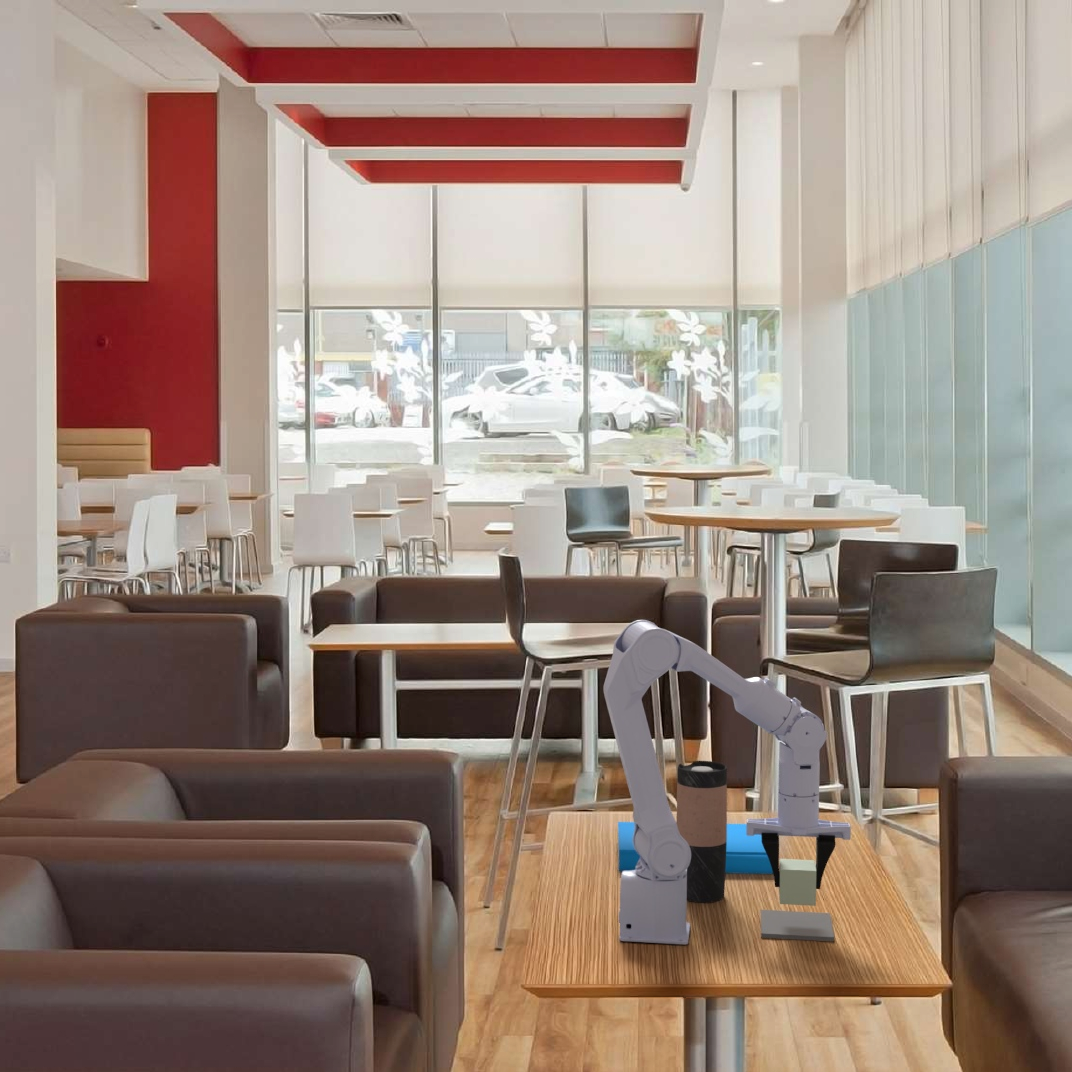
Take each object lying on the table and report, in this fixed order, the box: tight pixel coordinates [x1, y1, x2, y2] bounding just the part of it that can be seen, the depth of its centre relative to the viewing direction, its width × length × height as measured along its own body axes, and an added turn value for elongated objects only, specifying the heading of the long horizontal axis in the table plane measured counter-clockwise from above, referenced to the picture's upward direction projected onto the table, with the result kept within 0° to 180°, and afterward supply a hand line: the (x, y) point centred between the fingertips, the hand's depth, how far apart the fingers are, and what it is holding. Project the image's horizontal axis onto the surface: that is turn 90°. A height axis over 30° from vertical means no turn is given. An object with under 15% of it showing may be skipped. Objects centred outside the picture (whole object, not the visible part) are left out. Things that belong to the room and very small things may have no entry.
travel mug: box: [675, 760, 728, 904], centre depth 217 cm, size 8×8×20 cm
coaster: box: [760, 909, 835, 942], centre depth 204 cm, size 10×10×1 cm
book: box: [617, 821, 773, 875], centre depth 237 cm, size 17×4×25 cm
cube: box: [778, 858, 817, 907], centre depth 203 cm, size 5×5×5 cm
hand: (797, 886), depth 204 cm, fingers closed on cube, 5 cm apart
